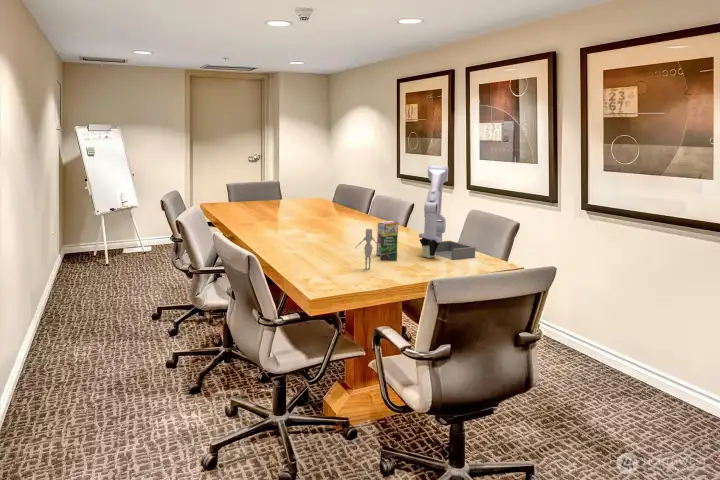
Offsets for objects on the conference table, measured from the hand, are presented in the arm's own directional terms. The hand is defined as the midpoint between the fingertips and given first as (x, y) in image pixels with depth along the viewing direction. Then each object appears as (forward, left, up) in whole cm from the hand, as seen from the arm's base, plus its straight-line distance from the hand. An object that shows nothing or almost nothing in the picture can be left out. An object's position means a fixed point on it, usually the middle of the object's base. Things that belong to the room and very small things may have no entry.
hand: (428, 254), depth 270 cm
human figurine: (+7, -39, -2) cm, 40 cm away
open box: (0, +14, -2) cm, 14 cm away
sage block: (0, 0, -1) cm, 1 cm away
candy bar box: (-15, -14, -2) cm, 21 cm away
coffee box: (-5, -20, -2) cm, 21 cm away
